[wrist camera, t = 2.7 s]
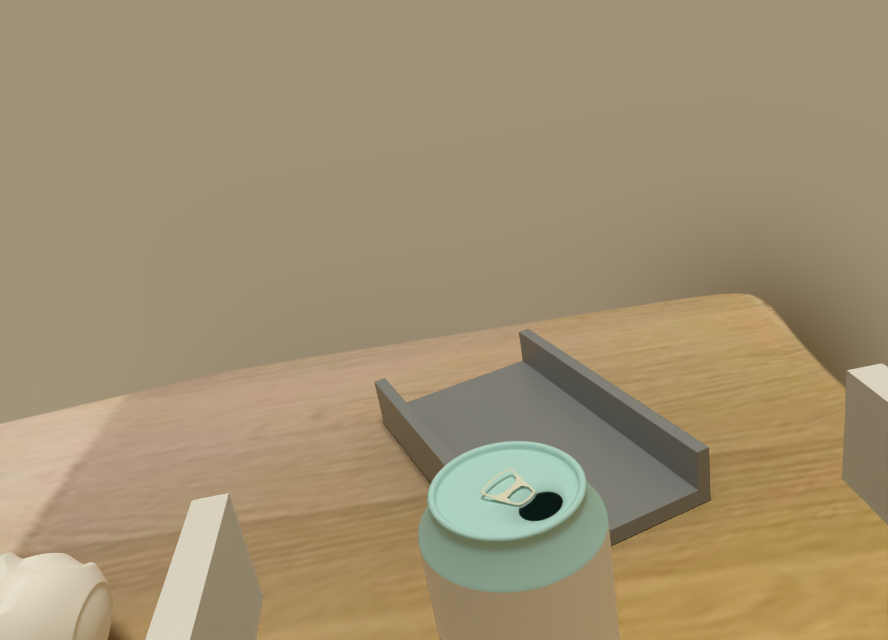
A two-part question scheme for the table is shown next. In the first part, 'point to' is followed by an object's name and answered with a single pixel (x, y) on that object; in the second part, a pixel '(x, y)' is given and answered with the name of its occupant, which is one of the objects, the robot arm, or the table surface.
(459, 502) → the can
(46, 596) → the cream rounded lump
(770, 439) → the table surface
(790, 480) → the table surface
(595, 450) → the duct channel
